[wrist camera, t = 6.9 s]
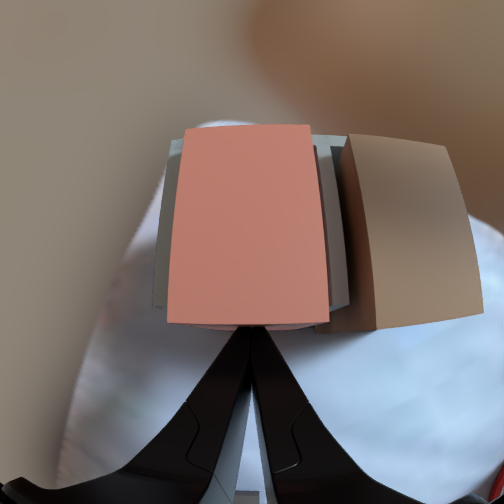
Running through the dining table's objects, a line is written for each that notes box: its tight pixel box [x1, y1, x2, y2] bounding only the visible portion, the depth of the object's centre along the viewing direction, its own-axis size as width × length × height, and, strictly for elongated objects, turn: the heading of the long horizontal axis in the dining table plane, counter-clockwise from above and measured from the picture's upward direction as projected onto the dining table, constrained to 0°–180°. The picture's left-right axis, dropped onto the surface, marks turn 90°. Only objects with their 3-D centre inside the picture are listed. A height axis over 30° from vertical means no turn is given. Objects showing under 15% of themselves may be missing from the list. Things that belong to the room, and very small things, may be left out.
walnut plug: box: [315, 134, 484, 334], centre depth 12 cm, size 6×4×9 cm, turn 0°
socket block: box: [152, 135, 349, 312], centre depth 12 cm, size 6×11×8 cm, turn 90°
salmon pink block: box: [167, 124, 329, 331], centre depth 12 cm, size 6×4×9 cm, turn 0°
